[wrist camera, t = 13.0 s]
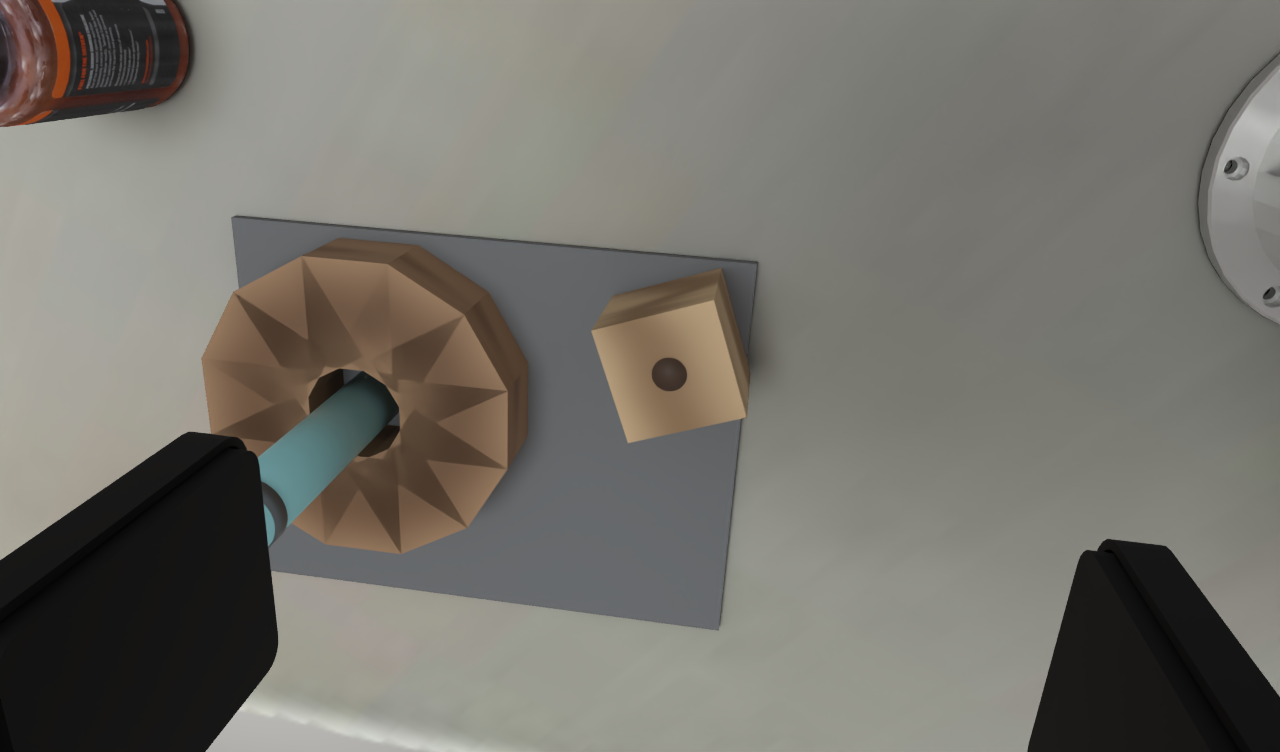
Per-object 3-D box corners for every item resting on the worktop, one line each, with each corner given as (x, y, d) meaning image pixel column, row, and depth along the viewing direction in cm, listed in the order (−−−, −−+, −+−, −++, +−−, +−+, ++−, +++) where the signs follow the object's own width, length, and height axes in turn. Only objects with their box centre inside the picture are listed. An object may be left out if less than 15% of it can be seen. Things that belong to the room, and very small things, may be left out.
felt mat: (757, 262, 40) (757, 264, 39) (719, 625, 47) (718, 630, 46) (236, 215, 42) (231, 217, 42) (273, 566, 49) (270, 570, 49)
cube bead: (721, 267, 39) (713, 300, 35) (750, 372, 41) (746, 418, 36) (612, 295, 41) (590, 331, 36) (644, 397, 42) (627, 443, 37)
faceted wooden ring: (529, 254, 40) (507, 275, 37) (526, 529, 46) (507, 567, 42) (232, 228, 42) (186, 245, 39) (261, 496, 47) (223, 531, 44)
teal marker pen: (412, 362, 43) (255, 508, 30) (414, 414, 44) (263, 577, 31) (357, 357, 43) (179, 498, 31) (360, 409, 44) (189, 567, 32)
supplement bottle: (158, -57, 38) (-74, -87, 28) (218, 86, 40) (21, 108, 30) (44, -13, 40) (-219, -26, 29) (107, 124, 42) (-119, 158, 31)
